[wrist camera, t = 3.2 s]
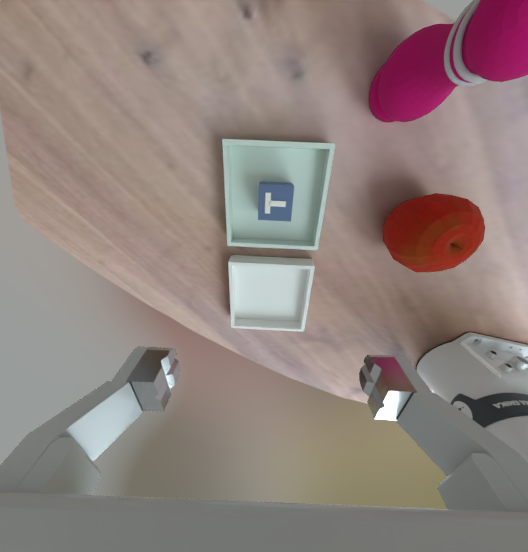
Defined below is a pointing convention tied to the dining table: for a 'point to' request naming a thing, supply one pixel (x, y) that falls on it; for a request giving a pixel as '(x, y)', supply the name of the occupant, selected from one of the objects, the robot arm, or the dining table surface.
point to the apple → (433, 232)
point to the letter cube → (275, 201)
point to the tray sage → (275, 168)
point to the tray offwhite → (269, 292)
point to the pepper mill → (452, 59)
